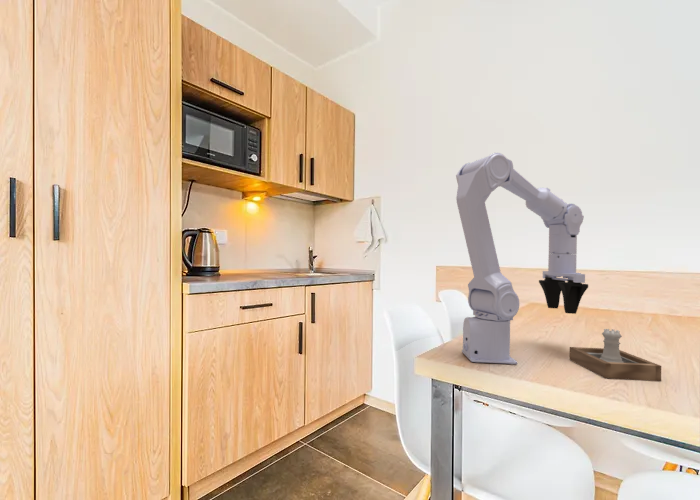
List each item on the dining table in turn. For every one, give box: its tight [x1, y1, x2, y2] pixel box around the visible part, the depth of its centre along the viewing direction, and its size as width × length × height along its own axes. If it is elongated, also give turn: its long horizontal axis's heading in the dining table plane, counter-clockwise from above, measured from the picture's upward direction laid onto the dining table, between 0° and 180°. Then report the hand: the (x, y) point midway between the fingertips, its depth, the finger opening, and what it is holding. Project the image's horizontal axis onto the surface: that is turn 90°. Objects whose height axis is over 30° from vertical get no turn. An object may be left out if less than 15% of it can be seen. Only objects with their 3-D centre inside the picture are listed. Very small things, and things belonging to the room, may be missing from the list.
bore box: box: [568, 346, 662, 382], centre depth 69 cm, size 10×12×3 cm
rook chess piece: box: [599, 328, 624, 363], centre depth 69 cm, size 4×4×8 cm
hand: (561, 310), depth 81 cm, fingers open, 7 cm apart
